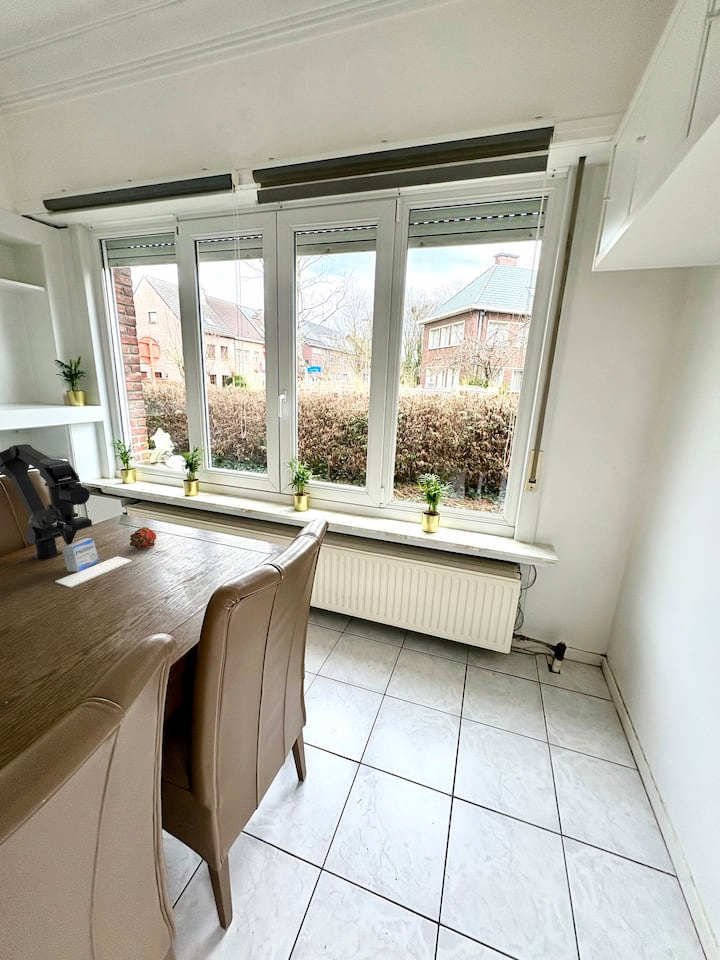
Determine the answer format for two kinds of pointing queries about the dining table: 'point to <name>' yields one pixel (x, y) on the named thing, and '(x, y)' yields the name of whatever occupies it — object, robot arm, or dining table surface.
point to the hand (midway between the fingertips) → (69, 544)
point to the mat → (93, 572)
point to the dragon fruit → (143, 538)
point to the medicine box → (80, 555)
